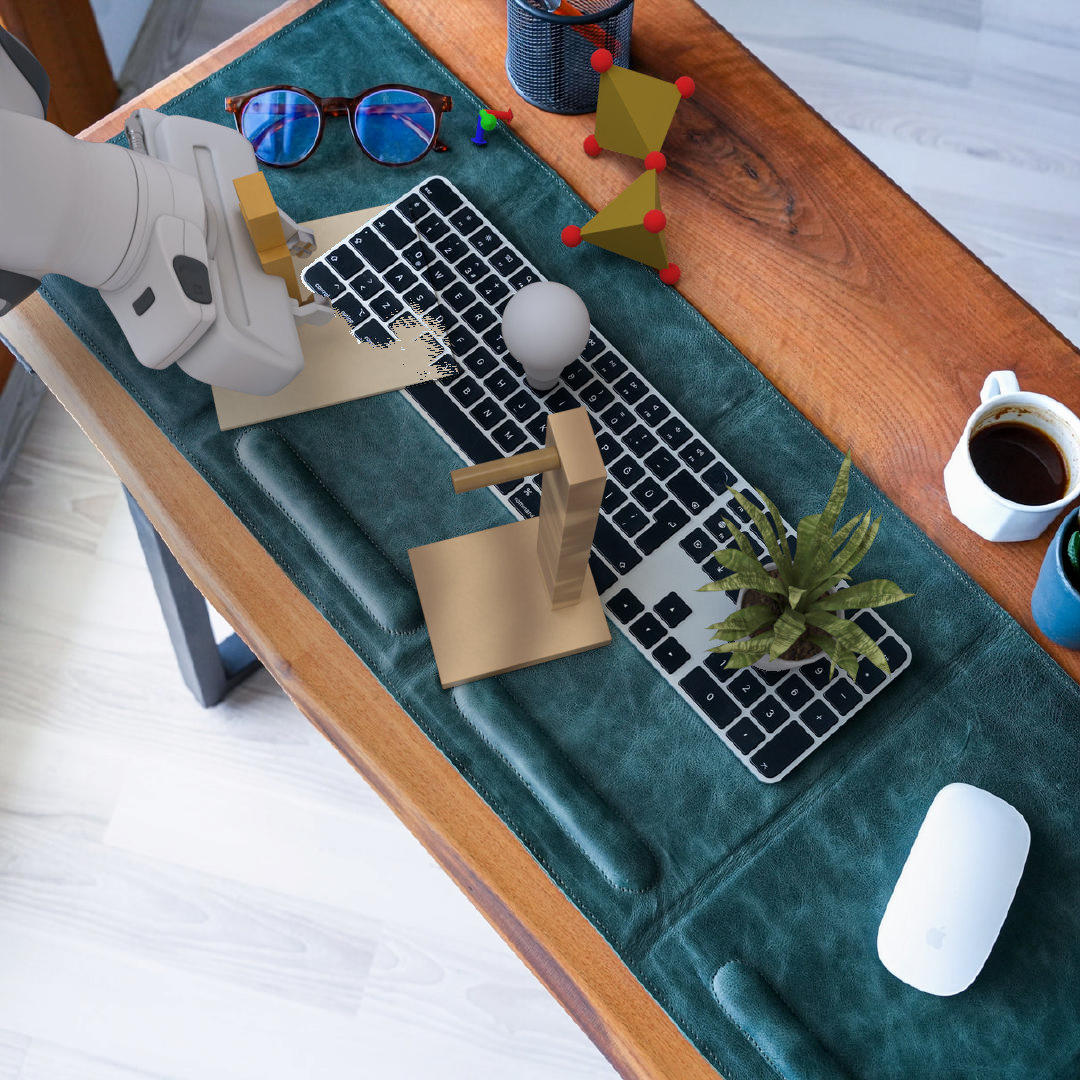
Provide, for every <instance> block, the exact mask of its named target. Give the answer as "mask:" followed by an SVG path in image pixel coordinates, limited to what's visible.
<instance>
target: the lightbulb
mask: <svg viewBox="0 0 1080 1080" xmlns="http://www.w3.org/2000/svg"><path fill="white" fill-rule="evenodd" d="M590 334H591V319H590V314H589V311H588V309H587V306H586V304H585V302H584V301H583V300H582V298H581V297H580V295H579V294H578V293H577V292H576V291H575V290H573V289H572V288H570V287H568V286H567V285H565V284H563V283H562V284H561V283H559V282H555V281H546V280H545V281H536V282H531V283H530V284H527V285H526V286H523V287H521V289H519V290H518V291H516V293H514V295H513V296H512V297H511V298H510V300H509V301H508V302H507V304H506V306H505V309H504V311H503V315H502V317H501V335H502V339H503V341H504V344H505V346H506V348H507V350H508V352H509V353H510V355H511V356H512V357H513V358H514V359H515V360H516V361H517V362H519V363H520V364H522V368H523V370H524V372H525V378H526V381H527V383H528V384H529V386H530V387H531V388H533V389H535V390H538V391H547V390H548V391H549V390H551V389H552V388H554V387H555V386H557V384H558V382H559V379H560V376H561V373H562V372H563V370H564V368H565V367H567V366H569V365H571V364H572V363H573V362H574V361H576V360H578V358H579V357H580V356H581V354H583V351H584V350H585V348H586V346H587V344H588V342H589V338H590Z"/></svg>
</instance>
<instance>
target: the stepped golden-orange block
mask: <svg viewBox="0 0 1080 1080" xmlns="http://www.w3.org/2000/svg"><path fill="white" fill-rule="evenodd" d="M232 181H233V184H234V188H235V191H236V194H237V197H238V199H239V202H241V203H239V207H240V211H241V213H242V216H243V219H244V221H245V224H246V226H247V229H248V231H249V234H250V237H251V239H252V242H253V244H254V247H255V249H256V252H257V255H258V257H259V260H260V262H261V265H262V267H263V270H264V273H265V274H268V275H274V276H279V277H282V278H284V279H285V283H286V287H287V291H288V295H289V297H290V298H293V299H296V300H297V301H298V303H299V305H300V304H301V303H302V298H301V294H300V290H299V285H298V281H297V277H296V273H295V269H294V265H293V261H292V257H291V254H290V251H289V249H288V246H287V244H286V240H285V236H284V232H283V228H282V224H281V220H280V216H279V212H278V209H277V206H278V205H277V203H276V201H275V199H274V197H273V194H272V191H271V189H270V187H269V184H268V181H267V179H266V177H265V173H264V172H263V171H262V170H259V172H257V173H253V174H250V175H246V176H243V177H240V178H236V179H233V180H232ZM276 205H277V206H276ZM298 307H299V306H298Z"/></svg>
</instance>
